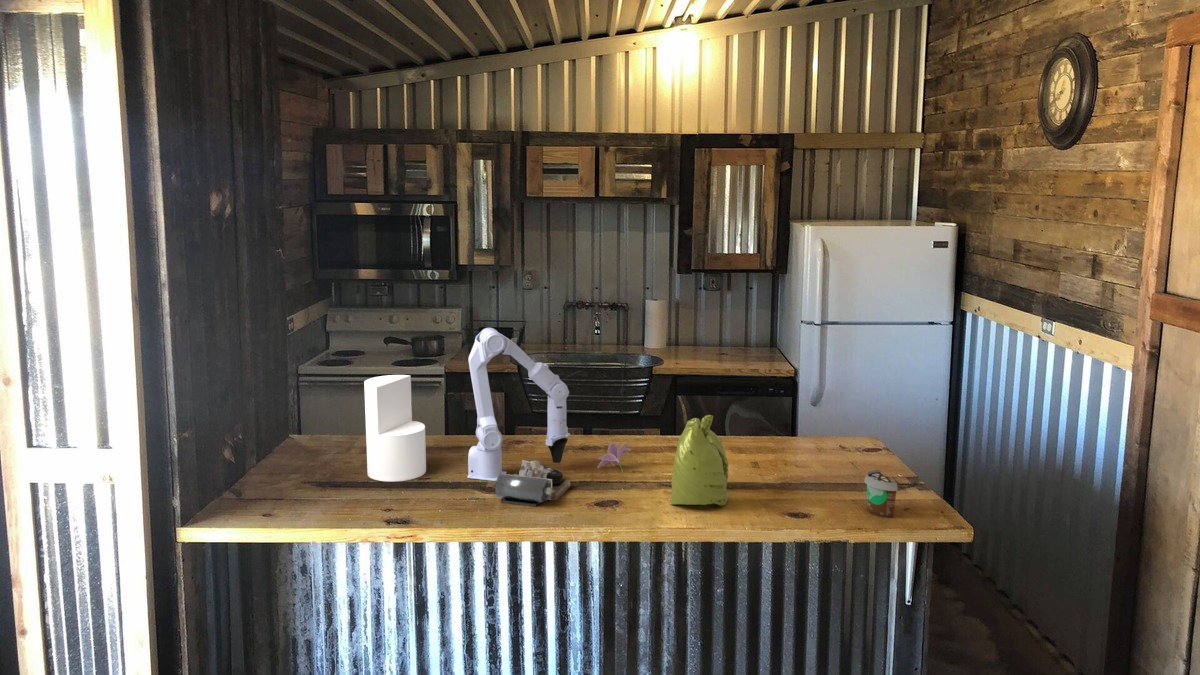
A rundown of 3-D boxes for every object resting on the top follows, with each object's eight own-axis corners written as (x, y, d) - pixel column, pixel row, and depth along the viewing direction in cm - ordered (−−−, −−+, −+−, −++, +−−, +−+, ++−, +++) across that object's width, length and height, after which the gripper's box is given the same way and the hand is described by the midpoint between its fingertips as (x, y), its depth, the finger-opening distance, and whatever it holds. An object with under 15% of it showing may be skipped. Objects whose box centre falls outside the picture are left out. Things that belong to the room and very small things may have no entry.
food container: (855, 503, 251) (857, 468, 249) (877, 503, 251) (879, 468, 250) (872, 520, 239) (875, 484, 237) (895, 520, 239) (898, 483, 237)
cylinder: (355, 476, 269) (351, 384, 264) (389, 460, 285) (386, 372, 280) (404, 484, 263) (402, 390, 258) (437, 467, 279) (435, 378, 274)
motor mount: (488, 501, 250) (487, 477, 248) (514, 480, 267) (513, 457, 266) (547, 509, 245) (547, 484, 244) (570, 486, 262) (570, 463, 261)
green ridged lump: (725, 514, 242) (728, 426, 238) (667, 510, 245) (669, 423, 241) (729, 483, 266) (732, 403, 262) (676, 480, 269) (678, 400, 265)
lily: (637, 468, 283) (626, 439, 284) (642, 465, 271) (630, 435, 273) (601, 482, 281) (590, 453, 283) (605, 479, 269) (593, 449, 271)
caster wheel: (562, 487, 269) (552, 493, 259) (527, 476, 272) (516, 482, 262) (568, 466, 269) (558, 471, 259) (533, 454, 271) (521, 459, 262)
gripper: (561, 426, 266) (561, 470, 269) (577, 414, 280) (577, 456, 282) (538, 424, 268) (539, 468, 271) (555, 412, 282) (555, 454, 284)
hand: (557, 462), depth 277 cm, fingers closed
